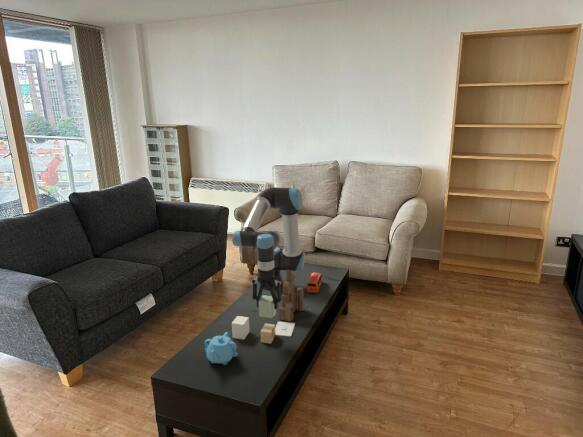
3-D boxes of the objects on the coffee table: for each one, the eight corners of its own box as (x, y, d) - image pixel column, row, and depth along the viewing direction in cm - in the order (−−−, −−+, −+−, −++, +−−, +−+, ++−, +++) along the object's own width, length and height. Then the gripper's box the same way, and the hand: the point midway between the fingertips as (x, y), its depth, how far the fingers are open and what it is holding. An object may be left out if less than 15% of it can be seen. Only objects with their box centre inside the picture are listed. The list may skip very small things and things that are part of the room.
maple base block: (265, 334, 197) (265, 323, 196) (275, 335, 196) (275, 324, 194) (260, 342, 191) (260, 331, 189) (271, 343, 189) (270, 332, 188)
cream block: (238, 330, 201) (237, 315, 199) (249, 331, 199) (248, 317, 197) (232, 337, 194) (231, 323, 192) (244, 339, 193) (243, 324, 191)
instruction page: (277, 322, 208) (277, 321, 208) (295, 323, 206) (295, 322, 206) (272, 334, 196) (272, 333, 196) (291, 336, 195) (290, 335, 195)
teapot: (230, 348, 187) (228, 326, 184) (241, 364, 174) (239, 341, 172) (203, 357, 181) (201, 334, 178) (213, 373, 169) (210, 349, 166)
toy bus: (306, 293, 238) (306, 282, 236) (311, 280, 255) (311, 270, 253) (318, 294, 237) (318, 283, 235) (323, 281, 254) (323, 271, 252)
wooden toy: (290, 322, 207) (289, 277, 200) (279, 319, 210) (278, 275, 203) (304, 309, 220) (304, 266, 213) (293, 306, 223) (293, 264, 216)
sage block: (263, 310, 193) (263, 295, 191) (275, 311, 192) (275, 296, 189) (259, 316, 188) (258, 300, 185) (271, 318, 186) (271, 302, 184)
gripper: (243, 269, 182) (245, 315, 188) (283, 273, 177) (284, 320, 184) (249, 263, 189) (251, 307, 195) (288, 266, 184) (289, 312, 190)
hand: (267, 313), depth 189 cm, fingers closed on sage block, 6 cm apart
